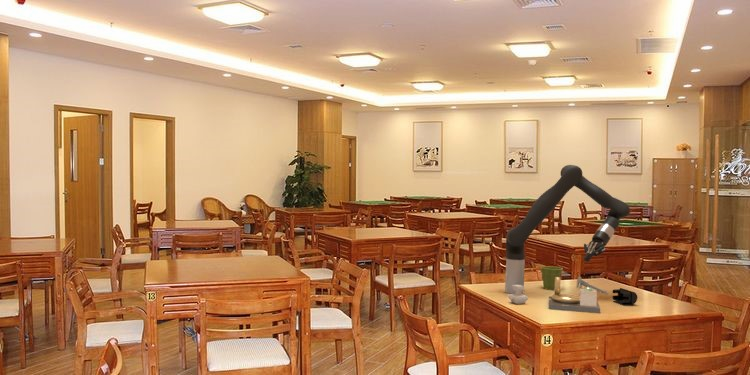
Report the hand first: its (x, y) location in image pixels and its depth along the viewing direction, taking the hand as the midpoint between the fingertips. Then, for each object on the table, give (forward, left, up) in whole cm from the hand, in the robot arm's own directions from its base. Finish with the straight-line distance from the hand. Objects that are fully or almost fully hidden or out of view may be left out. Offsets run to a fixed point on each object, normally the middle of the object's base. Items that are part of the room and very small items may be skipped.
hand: (585, 260), depth 313 cm
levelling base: (-6, -20, -19) cm, 28 cm away
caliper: (+5, +27, -20) cm, 33 cm away
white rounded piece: (-31, -22, -19) cm, 43 cm away
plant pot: (-16, +24, -19) cm, 34 cm away
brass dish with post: (-9, -17, -17) cm, 26 cm away
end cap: (+18, -3, -19) cm, 27 cm away
